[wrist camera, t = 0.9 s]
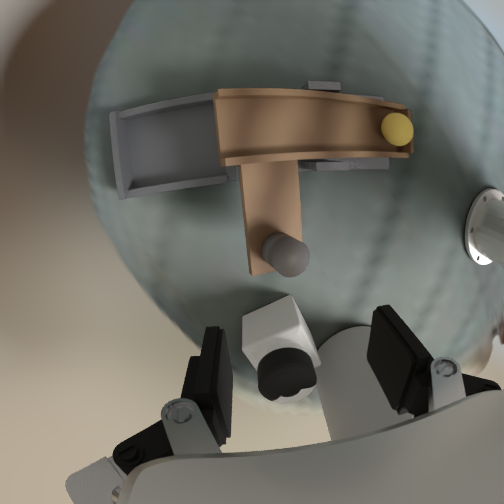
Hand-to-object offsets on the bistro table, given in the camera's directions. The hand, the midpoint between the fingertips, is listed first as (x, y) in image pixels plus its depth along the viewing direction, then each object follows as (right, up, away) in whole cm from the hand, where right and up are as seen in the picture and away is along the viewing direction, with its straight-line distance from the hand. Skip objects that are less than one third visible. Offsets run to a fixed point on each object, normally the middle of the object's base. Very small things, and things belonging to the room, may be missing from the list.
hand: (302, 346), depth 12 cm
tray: (-11, +16, +17) cm, 26 cm away
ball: (+12, +16, +12) cm, 24 cm away
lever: (+5, +11, +13) cm, 18 cm away
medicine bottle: (+1, -6, +25) cm, 26 cm away
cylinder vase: (+13, -12, +28) cm, 33 cm away
